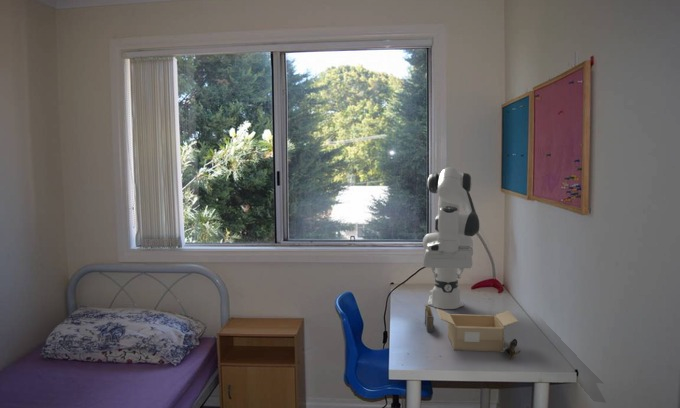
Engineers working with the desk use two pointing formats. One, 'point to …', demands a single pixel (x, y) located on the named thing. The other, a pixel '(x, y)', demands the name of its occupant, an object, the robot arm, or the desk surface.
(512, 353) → the eagle figurine
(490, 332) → the carton
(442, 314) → the flap
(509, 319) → the flap
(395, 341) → the desk surface
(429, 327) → the miniature staircase model
